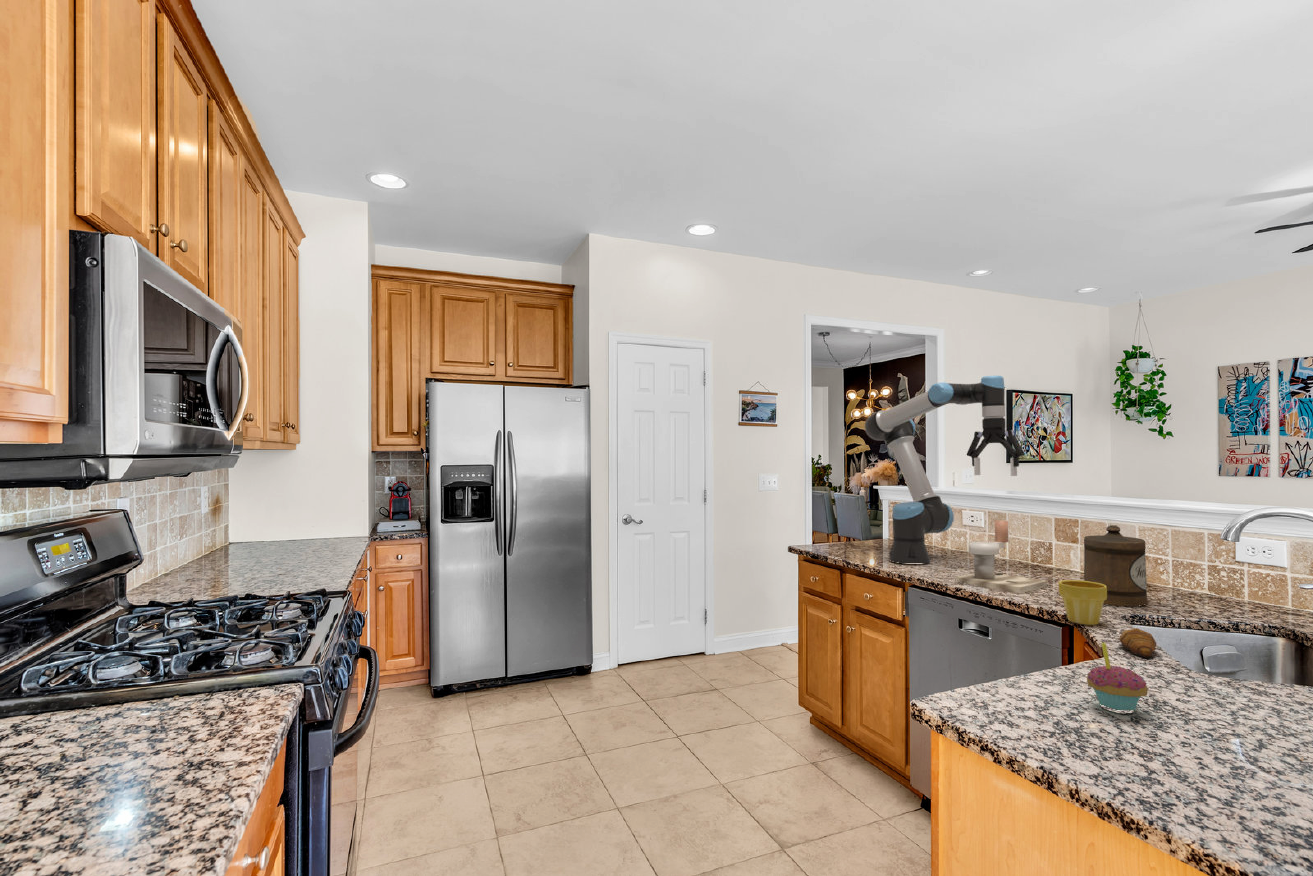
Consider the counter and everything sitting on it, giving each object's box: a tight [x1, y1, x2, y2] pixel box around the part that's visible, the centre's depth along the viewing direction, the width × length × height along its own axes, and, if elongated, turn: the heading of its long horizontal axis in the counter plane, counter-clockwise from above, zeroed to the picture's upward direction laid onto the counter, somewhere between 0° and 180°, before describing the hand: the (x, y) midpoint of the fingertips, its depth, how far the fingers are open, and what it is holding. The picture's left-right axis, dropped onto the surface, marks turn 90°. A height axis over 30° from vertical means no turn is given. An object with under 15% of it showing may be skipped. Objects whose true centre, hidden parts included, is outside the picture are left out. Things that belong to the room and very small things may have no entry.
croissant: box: [1118, 627, 1157, 659], centre depth 141 cm, size 14×7×5 cm, turn 157°
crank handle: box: [968, 519, 1010, 556], centre depth 213 cm, size 18×9×10 cm, turn 122°
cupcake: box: [1086, 638, 1149, 711], centre depth 110 cm, size 9×8×12 cm
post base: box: [955, 554, 1048, 595], centre depth 209 cm, size 21×16×10 cm
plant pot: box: [1058, 579, 1107, 626], centre depth 164 cm, size 10×10×10 cm
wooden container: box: [1083, 524, 1148, 607], centre depth 185 cm, size 15×15×22 cm
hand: (995, 475), depth 234 cm, fingers open, 13 cm apart
